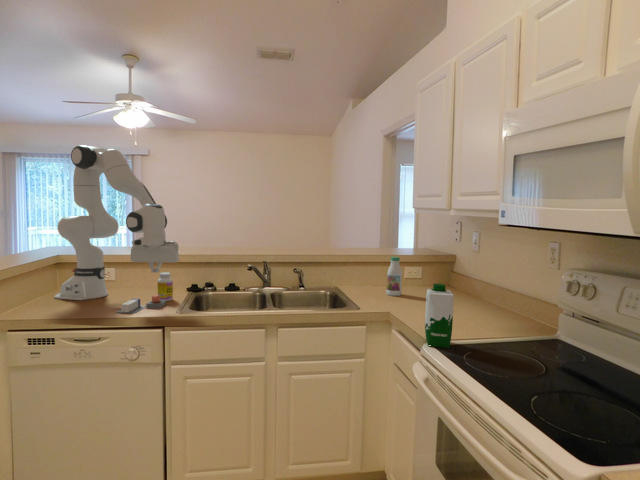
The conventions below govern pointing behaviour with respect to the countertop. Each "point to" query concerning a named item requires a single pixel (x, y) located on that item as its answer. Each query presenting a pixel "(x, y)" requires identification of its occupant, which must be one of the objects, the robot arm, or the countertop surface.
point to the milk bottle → (394, 278)
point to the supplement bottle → (165, 287)
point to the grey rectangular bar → (131, 305)
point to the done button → (156, 299)
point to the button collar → (155, 304)
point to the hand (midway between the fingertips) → (155, 272)
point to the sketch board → (132, 310)
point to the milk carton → (439, 316)
